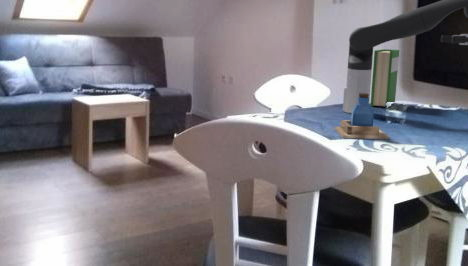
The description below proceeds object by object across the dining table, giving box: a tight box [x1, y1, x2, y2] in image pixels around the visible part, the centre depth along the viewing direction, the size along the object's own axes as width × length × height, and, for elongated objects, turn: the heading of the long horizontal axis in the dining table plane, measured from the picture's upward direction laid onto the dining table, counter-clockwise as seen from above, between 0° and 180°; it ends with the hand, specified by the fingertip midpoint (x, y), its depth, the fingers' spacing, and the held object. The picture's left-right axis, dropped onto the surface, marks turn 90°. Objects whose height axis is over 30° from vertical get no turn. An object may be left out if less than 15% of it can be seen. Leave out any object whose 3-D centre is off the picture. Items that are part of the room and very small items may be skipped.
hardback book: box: [369, 48, 400, 108], centre depth 221 cm, size 18×7×24 cm, turn 153°
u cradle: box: [334, 119, 390, 140], centre depth 160 cm, size 14×14×3 cm
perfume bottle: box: [350, 93, 375, 126], centre depth 158 cm, size 6×6×12 cm
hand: (446, 39), depth 159 cm, fingers open, 8 cm apart
